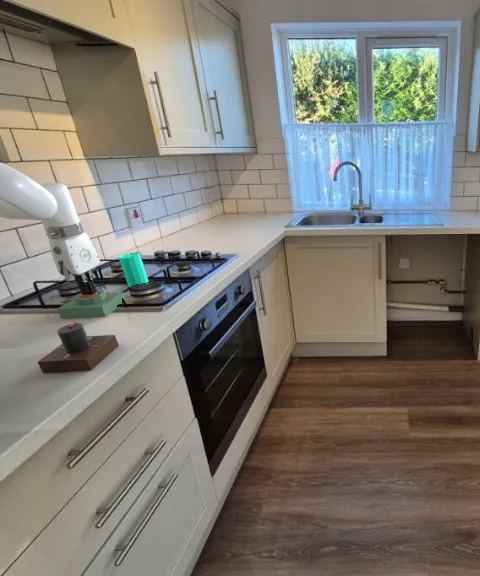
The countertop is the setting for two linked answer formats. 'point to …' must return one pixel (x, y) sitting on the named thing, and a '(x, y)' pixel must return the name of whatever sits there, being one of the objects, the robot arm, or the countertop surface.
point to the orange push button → (88, 295)
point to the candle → (133, 268)
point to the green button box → (91, 305)
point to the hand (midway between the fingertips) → (89, 293)
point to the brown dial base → (79, 356)
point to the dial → (73, 337)
